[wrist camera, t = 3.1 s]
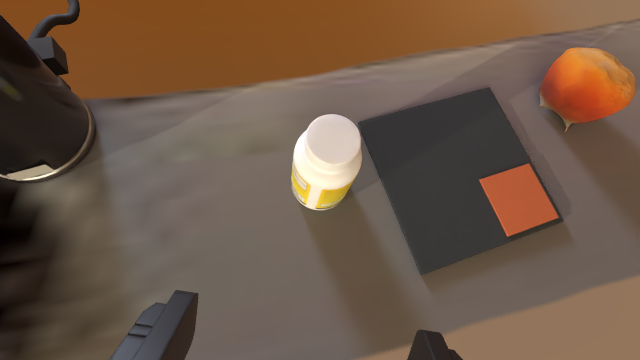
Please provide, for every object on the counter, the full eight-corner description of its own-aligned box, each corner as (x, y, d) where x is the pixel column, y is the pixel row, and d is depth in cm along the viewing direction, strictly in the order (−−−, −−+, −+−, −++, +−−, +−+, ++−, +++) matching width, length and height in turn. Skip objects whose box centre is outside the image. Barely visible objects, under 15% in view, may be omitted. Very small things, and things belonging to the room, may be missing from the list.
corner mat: (357, 123, 37) (358, 121, 36) (487, 89, 40) (490, 86, 39) (420, 275, 32) (423, 274, 32) (561, 221, 35) (565, 220, 35)
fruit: (518, 108, 38) (585, 40, 33) (521, 90, 44) (577, 30, 39) (585, 154, 37) (664, 91, 32) (578, 128, 43) (644, 72, 38)
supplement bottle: (354, 170, 35) (381, 122, 26) (334, 220, 33) (356, 187, 24) (304, 149, 35) (313, 94, 26) (281, 197, 33) (282, 157, 24)
